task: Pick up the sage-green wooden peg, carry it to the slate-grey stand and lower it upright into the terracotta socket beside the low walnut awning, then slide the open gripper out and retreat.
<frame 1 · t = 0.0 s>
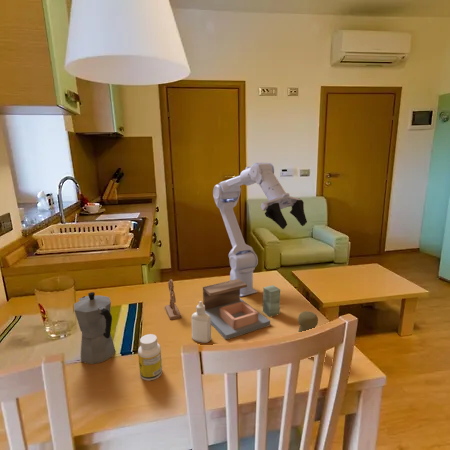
hand: (294, 225, 91), 32 cm above the table, tool tilted 50°, fingers open, 7 cm apart
coffeepot: (100, 355, 84), on the table
peg: (271, 312, 105), on the table
supplement bottle: (151, 374, 76), on the table
awning: (225, 296, 105), point 6 cm above the table
eye dropper bottle: (201, 339, 90), on the table
brown statuette: (172, 313, 106), on the table
cork: (306, 350, 85), on the table
socket stand: (233, 318, 101), on the table
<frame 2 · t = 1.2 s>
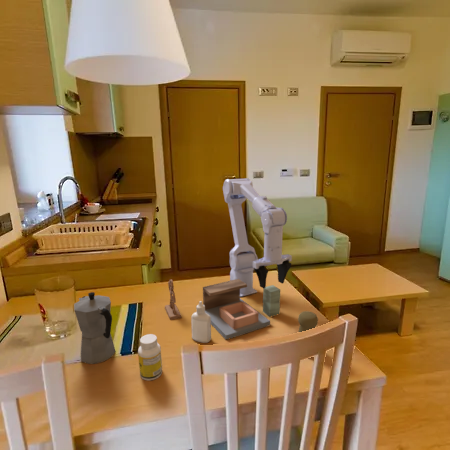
hand: (271, 284, 103), 10 cm above the table, tool pointing down, fingers open, 7 cm apart
nothing on the table moved.
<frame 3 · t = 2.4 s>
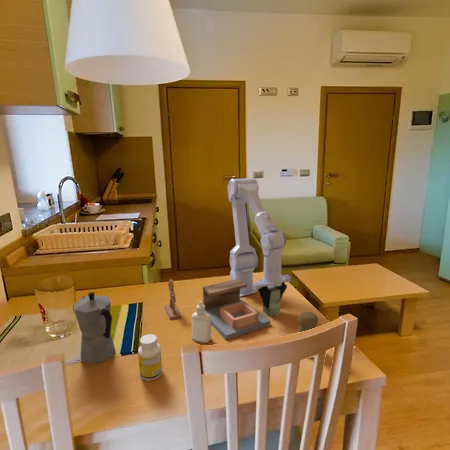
hand: (271, 305, 104), 3 cm above the table, tool pointing down, fingers closed on peg, 4 cm apart
peg: (271, 312, 105), on the table, touching gripper
everything else where it was.
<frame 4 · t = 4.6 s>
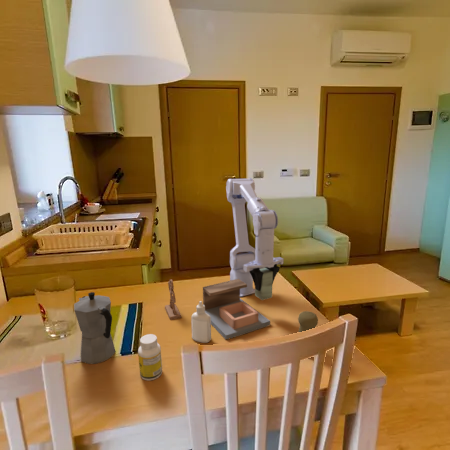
hand: (263, 288, 101), 10 cm above the table, tool pointing down, fingers closed on peg, 4 cm apart
peg: (263, 296, 102), point 7 cm above the table, touching gripper
everything else where it was.
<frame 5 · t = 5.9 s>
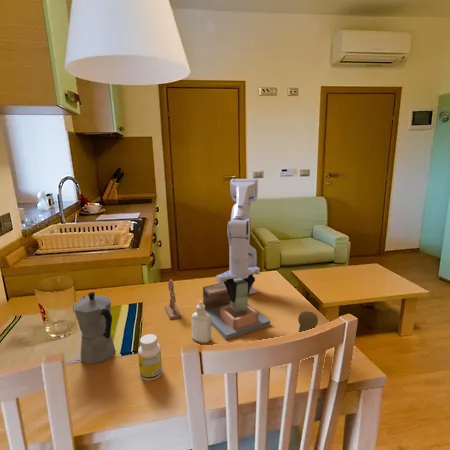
hand: (238, 299, 97), 8 cm above the table, tool pointing down, fingers closed on peg, 4 cm apart
peg: (238, 307, 97), point 5 cm above the table, touching gripper
everything else where it was.
when the fingers open (5 cm above the table, at t = 6.9 s): peg stays where it is, resting on socket stand.
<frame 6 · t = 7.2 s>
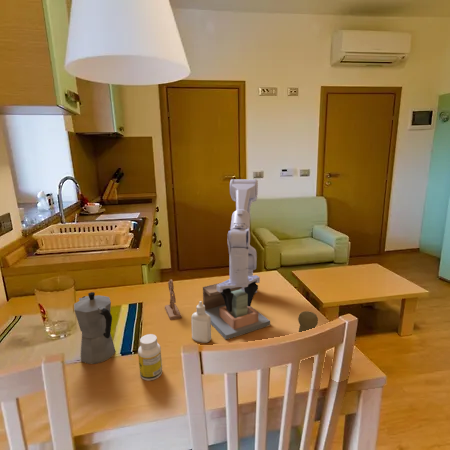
hand: (238, 307, 98), 5 cm above the table, tool pointing down, fingers open, 6 cm apart
peg: (238, 318, 98), point 1 cm above the table, touching socket stand
everything else where it was.
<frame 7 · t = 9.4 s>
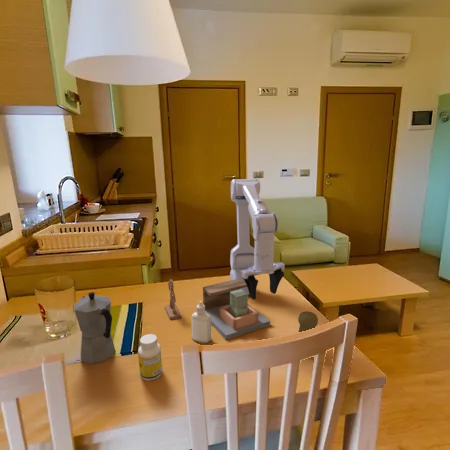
hand: (263, 295, 95), 10 cm above the table, tool pointing down, fingers open, 7 cm apart
nothing on the table moved.
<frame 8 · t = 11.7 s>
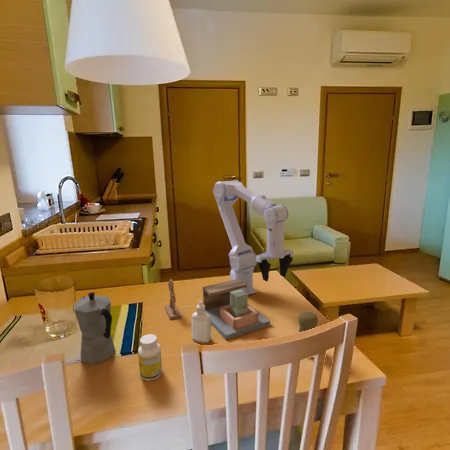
hand: (274, 278, 108), 10 cm above the table, tool pointing down, fingers open, 7 cm apart
nothing on the table moved.
at the end: peg 0.1 cm from the target spot on the socket stand, point 1.5 cm above the socket stand's base; peg tilted 0°; the gripper is holding nothing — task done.
